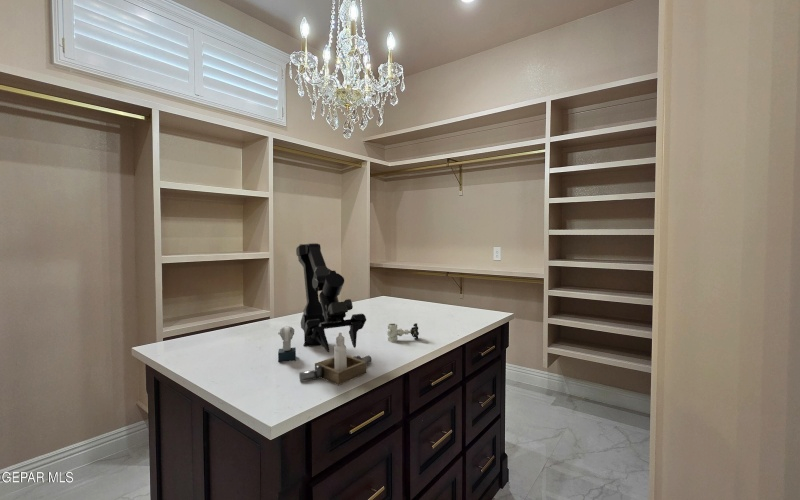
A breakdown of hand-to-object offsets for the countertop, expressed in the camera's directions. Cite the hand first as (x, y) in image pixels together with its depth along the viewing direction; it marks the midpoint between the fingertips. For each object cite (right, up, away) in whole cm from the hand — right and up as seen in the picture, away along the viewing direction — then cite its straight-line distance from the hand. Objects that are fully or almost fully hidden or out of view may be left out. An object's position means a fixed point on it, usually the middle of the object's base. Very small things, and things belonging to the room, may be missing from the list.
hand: (342, 349), depth 104 cm
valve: (+18, -7, +35) cm, 40 cm away
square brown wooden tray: (-1, -8, +2) cm, 8 cm away
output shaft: (-9, -8, -2) cm, 12 cm away
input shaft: (+5, -8, +9) cm, 13 cm away
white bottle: (-1, -8, +2) cm, 8 cm away
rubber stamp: (-21, -8, +14) cm, 27 cm away
